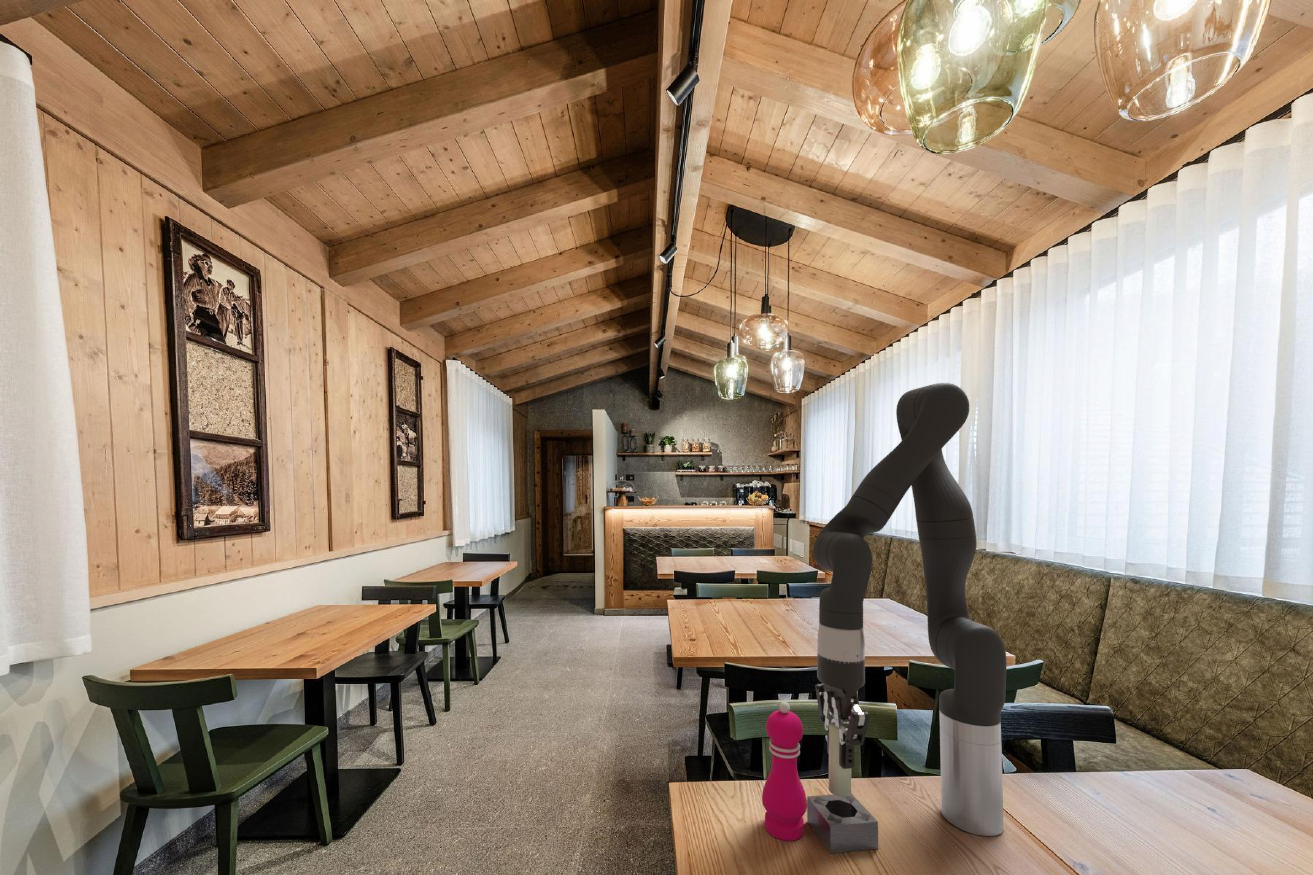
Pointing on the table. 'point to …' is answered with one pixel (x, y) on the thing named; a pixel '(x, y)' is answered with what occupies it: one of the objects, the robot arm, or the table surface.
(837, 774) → the candle
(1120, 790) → the table surface
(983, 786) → the robot arm
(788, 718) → the pepper mill
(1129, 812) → the table surface
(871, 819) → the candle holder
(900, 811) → the table surface
